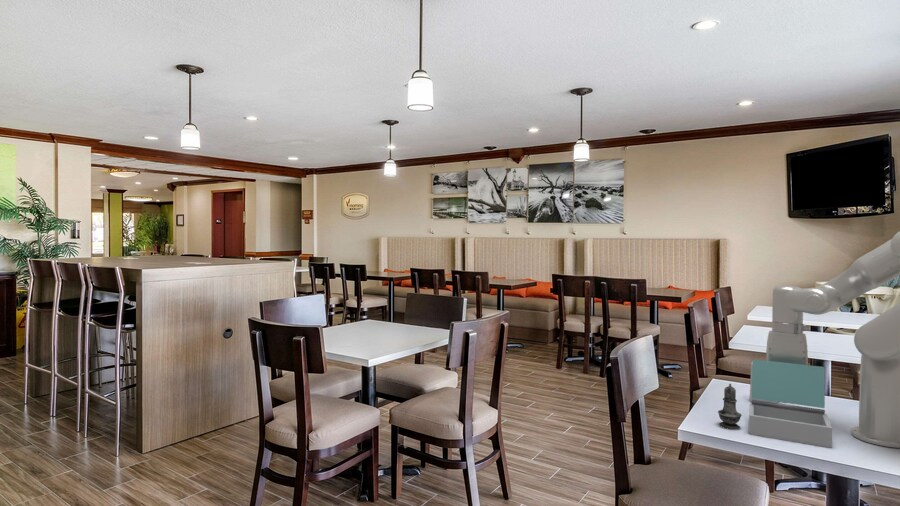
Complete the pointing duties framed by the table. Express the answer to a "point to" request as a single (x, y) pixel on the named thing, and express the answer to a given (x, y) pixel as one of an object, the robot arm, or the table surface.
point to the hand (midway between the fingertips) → (786, 390)
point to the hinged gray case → (790, 425)
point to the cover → (788, 385)
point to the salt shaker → (729, 409)
